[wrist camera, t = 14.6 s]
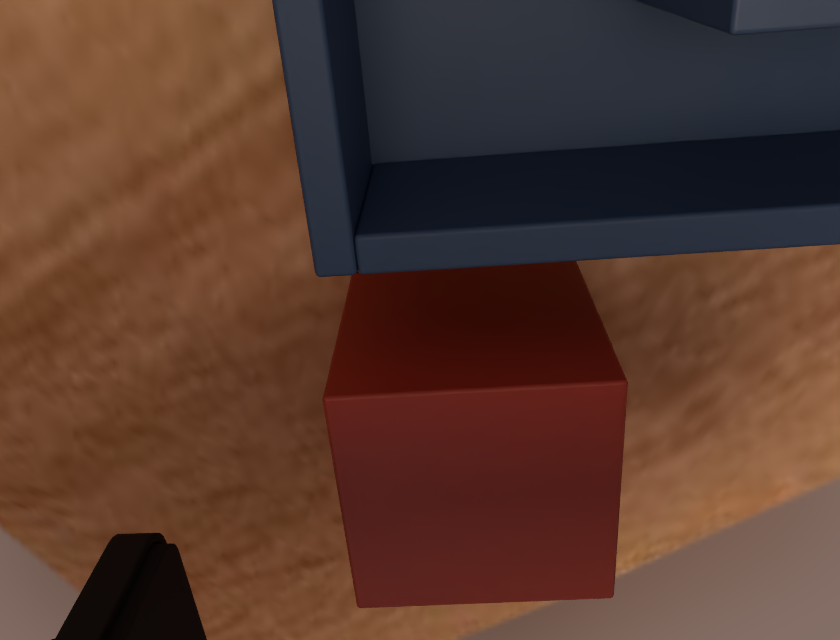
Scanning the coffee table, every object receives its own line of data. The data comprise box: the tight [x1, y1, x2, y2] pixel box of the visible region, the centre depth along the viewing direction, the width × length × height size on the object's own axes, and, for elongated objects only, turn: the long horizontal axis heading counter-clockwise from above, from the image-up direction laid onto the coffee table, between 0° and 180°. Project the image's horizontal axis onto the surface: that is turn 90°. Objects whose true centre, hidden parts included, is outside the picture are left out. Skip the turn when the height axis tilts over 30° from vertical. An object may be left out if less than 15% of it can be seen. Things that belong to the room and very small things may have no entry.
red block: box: [322, 261, 628, 608], centre depth 13 cm, size 4×4×4 cm
